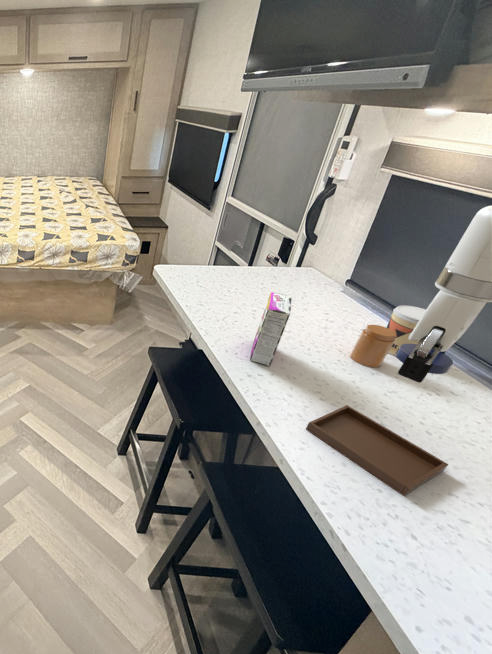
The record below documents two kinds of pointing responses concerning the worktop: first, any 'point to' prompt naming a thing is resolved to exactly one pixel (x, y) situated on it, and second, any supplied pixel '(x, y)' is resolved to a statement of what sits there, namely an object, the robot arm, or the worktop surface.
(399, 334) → the coffee cup
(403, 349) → the jar lid
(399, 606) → the worktop surface
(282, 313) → the candy bar box
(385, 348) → the jam jar
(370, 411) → the worktop surface
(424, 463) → the walnut tray
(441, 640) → the worktop surface
